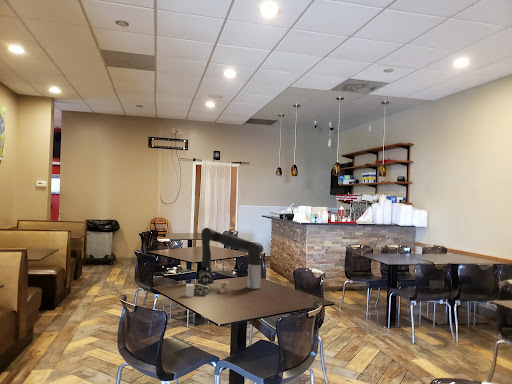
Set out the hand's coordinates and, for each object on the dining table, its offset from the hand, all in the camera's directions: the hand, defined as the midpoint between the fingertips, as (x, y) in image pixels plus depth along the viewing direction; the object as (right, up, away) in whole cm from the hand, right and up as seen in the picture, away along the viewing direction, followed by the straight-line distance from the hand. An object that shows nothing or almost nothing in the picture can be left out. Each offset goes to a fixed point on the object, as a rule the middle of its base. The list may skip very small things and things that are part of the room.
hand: (205, 283), depth 244 cm
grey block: (-9, -6, -9) cm, 14 cm away
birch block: (+12, -7, +6) cm, 15 cm away
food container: (-1, -5, +3) cm, 6 cm away
